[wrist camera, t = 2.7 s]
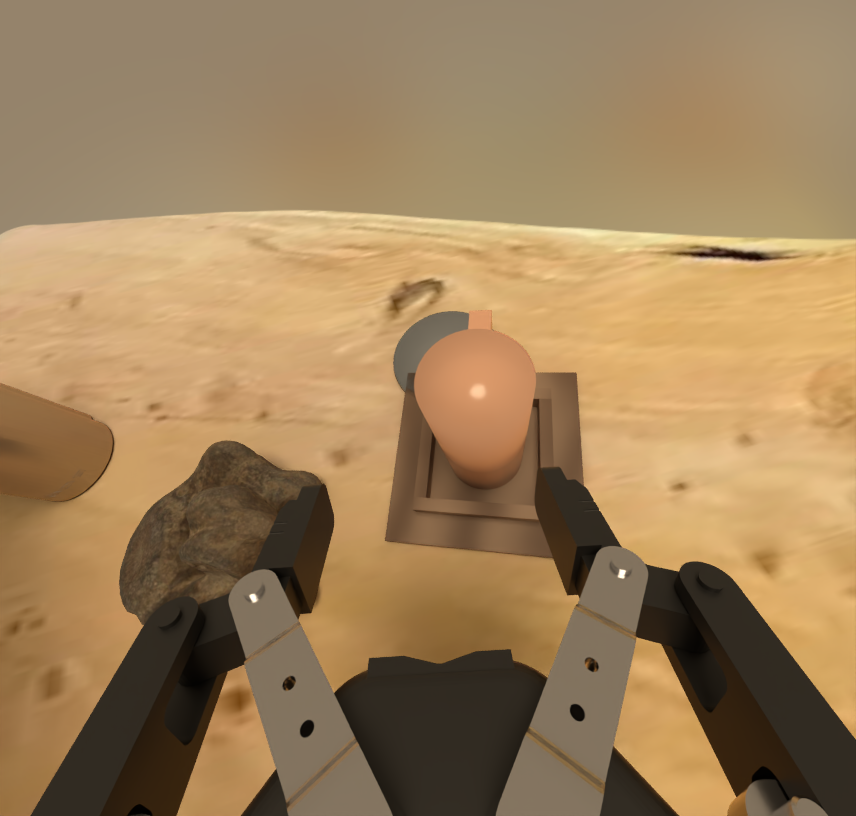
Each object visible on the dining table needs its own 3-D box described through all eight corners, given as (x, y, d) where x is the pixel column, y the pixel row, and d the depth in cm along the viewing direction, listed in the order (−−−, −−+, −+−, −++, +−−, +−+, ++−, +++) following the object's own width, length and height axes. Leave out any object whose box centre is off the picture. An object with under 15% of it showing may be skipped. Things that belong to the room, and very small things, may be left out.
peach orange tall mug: (522, 492, 30) (537, 439, 17) (445, 487, 31) (407, 434, 18) (522, 391, 33) (534, 286, 21) (453, 391, 35) (425, 291, 22)
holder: (387, 540, 31) (378, 539, 29) (409, 375, 37) (403, 363, 35) (586, 561, 28) (594, 560, 25) (575, 375, 34) (580, 362, 31)
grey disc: (375, 359, 38) (373, 356, 38) (452, 297, 40) (451, 294, 39) (440, 430, 34) (439, 428, 33) (525, 358, 35) (526, 355, 35)
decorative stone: (138, 459, 32) (238, 405, 25) (252, 482, 40) (350, 446, 34) (71, 680, 25) (188, 687, 18) (227, 653, 33) (347, 651, 26)
